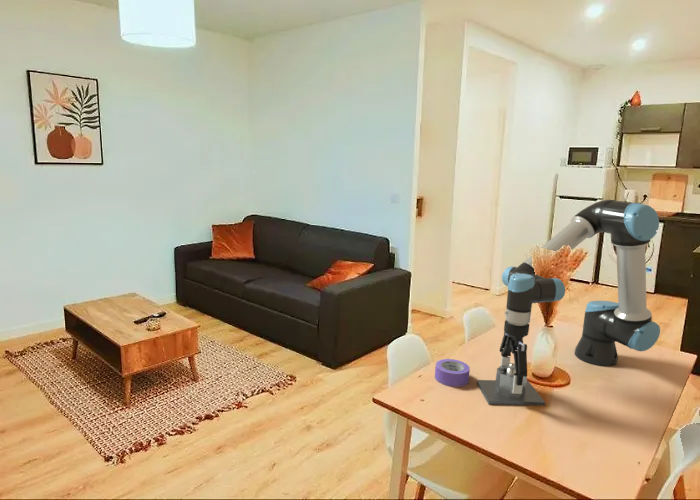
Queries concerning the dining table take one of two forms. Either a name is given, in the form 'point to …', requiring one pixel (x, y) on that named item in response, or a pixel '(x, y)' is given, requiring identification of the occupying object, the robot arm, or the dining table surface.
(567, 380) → the dining table surface
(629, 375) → the dining table surface
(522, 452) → the dining table surface
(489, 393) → the shaft stand
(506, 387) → the ring
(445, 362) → the tape roll
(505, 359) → the robot arm
